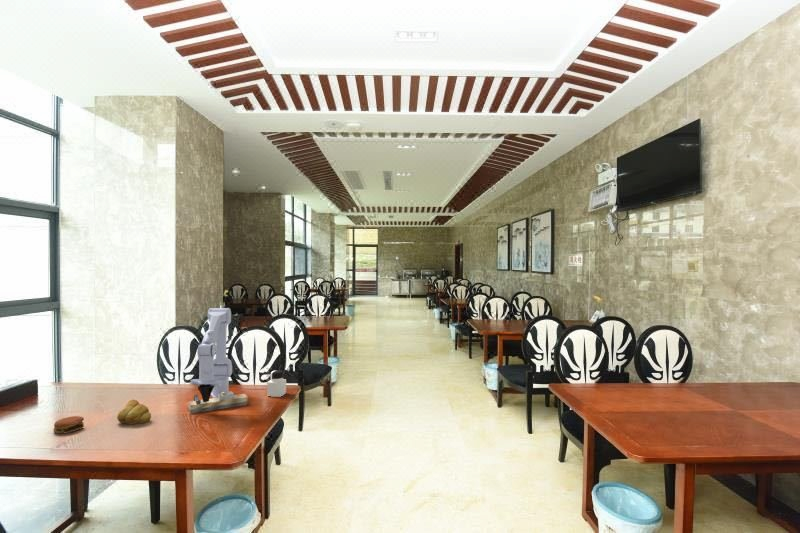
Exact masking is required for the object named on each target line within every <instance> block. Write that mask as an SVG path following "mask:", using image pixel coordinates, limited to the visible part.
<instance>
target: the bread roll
mask: <svg viewBox="0 0 800 533" xmlns="http://www.w3.org/2000/svg"><path fill="white" fill-rule="evenodd" d="M116 418H117V419H116V420H117V421H118V422H119V423H121V424H128V425H134V424H142V423H147V422H149V421H150V420H151V418H152V414H151V412H150V410H149V408H148V406H146V405H145V404H143V403H140V402H139V401H138V400H136V399H131V400H129V401H128V402H127V403H126V404H125V406H124V407H123V408H122V409H120V410H119V412H118V414H117V417H116Z"/></svg>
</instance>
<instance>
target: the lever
mask: <svg viewBox="0 0 800 533" xmlns="http://www.w3.org/2000/svg"><path fill="white" fill-rule="evenodd" d="M201 400H202V399H200V397H198V394H194V395H193V401H196V404H200V403H201Z"/></svg>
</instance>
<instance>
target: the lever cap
mask: <svg viewBox="0 0 800 533" xmlns="http://www.w3.org/2000/svg"><path fill="white" fill-rule="evenodd" d="M234 395H235V394H234V392H233V391H228V392H222V393H218V399H219V400H220V401H221V400H227V399H234Z"/></svg>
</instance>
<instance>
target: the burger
mask: <svg viewBox="0 0 800 533" xmlns="http://www.w3.org/2000/svg"><path fill="white" fill-rule="evenodd" d="M84 419H85V418H84V417H83V416H79V415H77V416H76V415H75V416H67V417H63V418H61V419H57V420H56V421H55V422H54V424H53V425H54V428H53V433H54V434H65V433H64V432H69V433H73V432H76V430H77V431H80V430H81V429H83V427H85V423H84V421H85V420H84ZM79 429H80V430H79ZM72 431H73V432H72Z"/></svg>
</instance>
